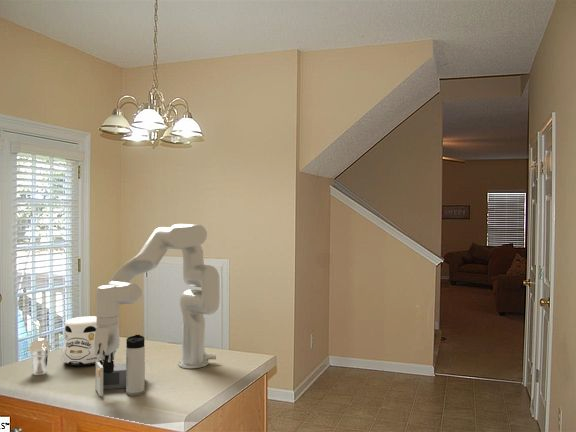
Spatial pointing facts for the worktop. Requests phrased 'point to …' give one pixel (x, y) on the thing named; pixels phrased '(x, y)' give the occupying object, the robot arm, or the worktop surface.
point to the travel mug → (135, 365)
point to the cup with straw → (39, 353)
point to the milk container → (80, 341)
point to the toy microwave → (115, 377)
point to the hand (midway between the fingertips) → (108, 372)
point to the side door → (99, 378)
